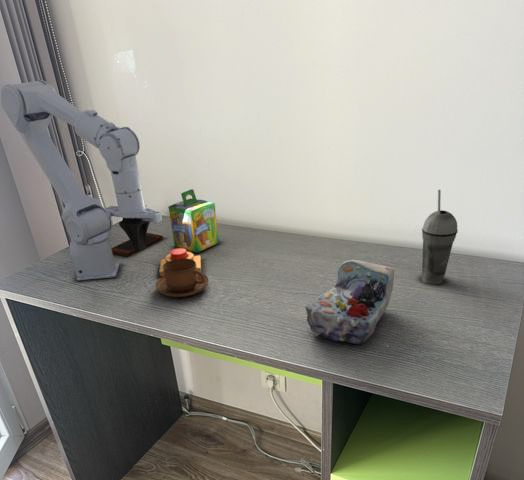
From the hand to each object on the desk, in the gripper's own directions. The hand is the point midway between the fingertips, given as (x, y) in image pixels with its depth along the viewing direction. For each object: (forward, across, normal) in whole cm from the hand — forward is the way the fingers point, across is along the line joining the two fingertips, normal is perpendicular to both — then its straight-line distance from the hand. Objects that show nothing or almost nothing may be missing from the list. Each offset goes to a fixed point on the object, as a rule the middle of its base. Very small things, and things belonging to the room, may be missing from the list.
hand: (140, 249), depth 114 cm
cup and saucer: (+8, -11, 0) cm, 14 cm away
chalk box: (+8, +2, -24) cm, 26 cm away
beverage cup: (+8, -61, -26) cm, 67 cm away
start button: (+5, -3, -10) cm, 12 cm away
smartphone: (+8, +19, -18) cm, 27 cm away
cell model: (+8, -51, 0) cm, 52 cm away
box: (+8, -3, -10) cm, 13 cm away
